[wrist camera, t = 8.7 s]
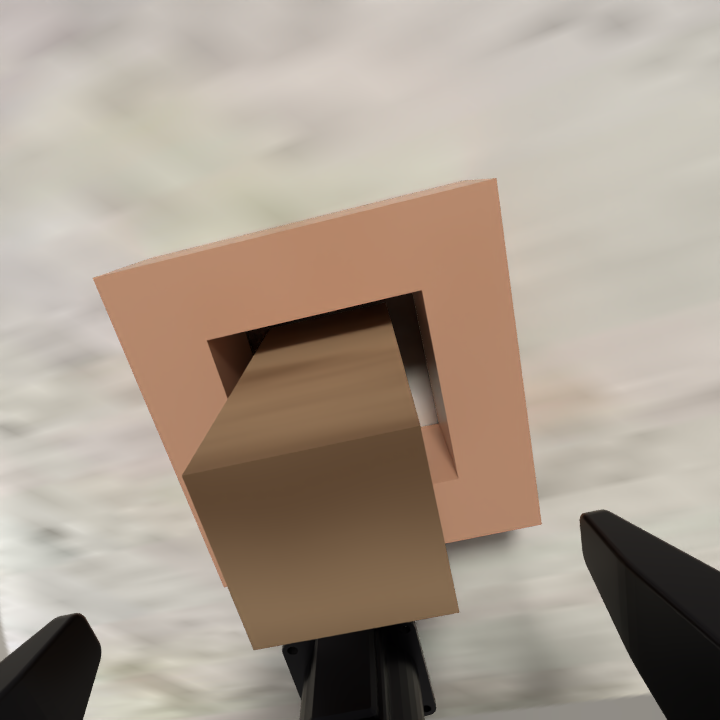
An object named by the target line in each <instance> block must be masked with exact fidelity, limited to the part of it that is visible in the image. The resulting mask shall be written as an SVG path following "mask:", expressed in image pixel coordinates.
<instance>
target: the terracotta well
mask: <svg viewBox="0 0 720 720" xmlns="http://www.w3.org/2000/svg"><path fill="white" fill-rule="evenodd" d="M93 280H94V282H95V284H96V287H97V289H98V291H99V294H100V296H101V298H102V301H103V303H104V306H105V308H106V310H107V313H108V315H109V317H110V320H111V322H112V324H113V327H114V329H115V331H116V334H117V336H118V339H119V341H120V343H121V346H122V348H123V350H124V353H125V355H126V357H127V360H128V362H129V364H130V367H131V369H132V372H133V374H134V376H135V379H136V381H137V383H138V386H139V388H140V390H141V393H142V395H143V397H144V400H145V402H146V405H147V407H148V409H149V412H150V414H151V416H152V419H153V421H154V423H155V426H156V428H157V430H158V433H159V435H160V437H161V440H162V442H163V445H164V447H165V449H166V452H167V454H168V456H169V459H170V461H171V463H172V466H173V468H174V470H175V473H176V475H177V478H178V480H179V482H180V485H181V487H182V489H183V492H184V494H185V496H186V499H187V501H188V503H189V506H190V508H191V511H192V513H193V515H194V518H195V520H196V522H197V525H198V527H199V529H200V532H201V534H202V536H203V539H204V541H205V543H206V546H207V548H208V551H209V553H210V555H211V558H212V560H213V562H214V565H215V567H216V569H217V572H218V574H219V576H220V579H221V581H222V584H223V586H224V587H227V584H226V582H225V579H224V577H223V575H222V572H221V570H220V567H219V565H218V562H217V560H216V558H215V555H214V553H213V550H212V548H211V545H210V543H209V541H208V538H207V536H206V533H205V531H204V529H203V526H202V524H201V521H200V519H199V516H198V514H197V512H196V509H195V507H194V504H193V502H192V500H191V497H190V495H189V492H188V490H187V487H186V485H185V483H184V480H183V478H182V474H183V473H184V471H185V469H186V468H187V466H188V464H189V463H190V461H191V459H192V458H193V456H194V454H195V453H196V451H197V449H198V448H199V446H200V444H201V443H202V441H203V439H204V438H205V436H206V434H207V433H208V431H209V429H210V428H211V426H212V424H213V423H214V421H215V419H216V418H217V416H218V414H219V413H220V411H221V409H222V408H223V406H224V404H225V403H226V401H227V399H228V398H229V396H230V394H231V393H232V391H233V389H234V388H235V386H236V384H237V383H238V381H239V379H240V378H241V376H242V374H243V373H244V371H245V369H246V368H247V366H248V364H249V363H250V361H251V359H252V358H253V354H252V351H251V348H250V345H249V342H248V339H247V336H246V333H245V331H249V330H253V329H258V328H262V327H266V326H270V325H275V324H279V323H283V322H287V321H292V320H296V319H300V318H305V317H309V316H313V315H317V314H322V313H326V312H330V311H334V310H339V309H343V308H347V307H352V306H356V305H360V304H364V303H369V302H373V301H377V300H381V299H386V298H390V297H394V296H399V295H403V294H407V293H411V292H412V294H413V299H414V304H415V309H416V314H417V319H418V324H419V329H420V334H421V339H422V344H423V348H424V353H425V358H426V363H427V368H428V373H429V378H430V383H431V388H432V393H433V398H434V403H435V408H436V413H437V418H438V424H433V425H429V426H424V427H421V431H422V436H423V441H424V445H425V450H426V455H427V460H428V465H429V469H430V474H431V479H432V484H433V488H434V493H435V498H436V503H437V508H438V512H439V517H440V522H441V527H442V531H443V536H444V541H445V543H450V542H455V541H460V540H465V539H470V538H475V537H480V536H486V535H491V534H496V533H501V532H506V531H511V530H516V529H521V528H526V527H531V526H536V525H541V524H542V523H541V515H540V508H539V500H538V492H537V485H536V477H535V470H534V462H533V454H532V447H531V439H530V431H529V424H528V416H527V408H526V401H525V393H524V386H523V378H522V370H521V363H520V355H519V347H518V340H517V332H516V325H515V317H514V309H513V302H512V294H511V286H510V279H509V271H508V263H507V256H506V248H505V241H504V233H503V225H502V218H501V210H500V202H499V195H498V187H497V179H496V178H492V179H479V180H465V181H460V182H456V183H452V184H448V185H444V186H440V187H436V188H432V189H428V190H424V191H420V192H416V193H412V194H408V195H404V196H400V197H396V198H392V199H388V200H384V201H380V202H376V203H372V204H368V205H363V206H359V207H355V208H351V209H347V210H343V211H339V212H335V213H331V214H327V215H323V216H319V217H315V218H311V219H307V220H303V221H299V222H295V223H291V224H287V225H283V226H279V227H275V228H271V229H267V230H263V231H259V232H255V233H251V234H247V235H243V236H238V237H234V238H230V239H226V240H222V241H218V242H214V243H210V244H206V245H202V246H198V247H194V248H190V249H186V250H182V251H178V252H174V253H170V254H166V255H162V256H158V257H154V258H150V259H147V260H144V261H141V262H138V263H135V264H132V265H129V266H126V267H123V268H120V269H118V270H115V271H112V272H109V273H106V274H103V275H100V276H97V277H94V278H93Z"/></svg>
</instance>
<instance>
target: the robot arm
mask: <svg viewBox="0 0 720 720" xmlns="http://www.w3.org/2000/svg"><path fill="white" fill-rule="evenodd" d="M580 530H581V541H582V551H583V556H584V560H585V563H586V565H587V568H588V570H589V572H590V574H591V576H592V578H593V580H594V582H595V584H596V587H597V589H598V591H599V593H600V595H601V597H602V599H603V601H604V604H605V606H606V608H607V610H608V612H609V614H610V616H611V618H612V620H613V623H614V625H615V627H616V629H617V631H618V633H619V635H620V637H621V640H622V642H623V644H624V646H625V648H626V650H627V652H628V654H629V656H630V658H631V659H632V661H633V663H634V665H635V667H636V668H637V670H638V672H639V674H640V675H641V677H642V679H643V680H644V682H645V684H646V685H647V687H648V689H649V690H650V692H651V694H652V695H653V697H654V698H655V700H656V702H657V703H658V705H659V707H660V708H661V710H662V712H663V713H664V715H665V717H666V718H667V720H720V571H718V570H716V569H715V568H713V567H711V566H709V565H707V564H705V563H703V562H702V561H700V560H698V559H696V558H694V557H692V556H691V555H689V554H687V553H685V552H683V551H681V550H680V549H678V548H676V547H674V546H672V545H670V544H668V543H667V542H665V541H663V540H661V539H659V538H657V537H656V536H654V535H652V534H650V533H648V532H646V531H645V530H643V529H641V528H639V527H637V526H635V525H633V524H632V523H630V522H628V521H626V520H624V519H622V518H621V517H619V516H617V515H615V514H613V513H611V512H610V511H607V510H597V511H592V512H587V513H583V514H582V515H581V516H580ZM402 626H405V627H402ZM282 652H283V655H284V658H285V660H286V663H287V665H288V668H289V670H290V673H291V675H292V678H293V680H294V683H295V685H296V688H297V690H298V693H299V696H300V698H301V710H300V720H425V718H424V716H427V715H431V714H433V713H434V712H435V711H436V703H435V698H434V694H433V690H432V686H431V683H430V679H429V675H428V671H427V667H426V663H425V660H424V656H423V652H422V648H421V644H420V640H419V637H418V633H417V629H416V625H415V621H410V622H405V623H399V624H394V625H389V626H383V627H378V628H372V629H367V630H361V631H356V632H350V633H345V634H339V635H334V636H329V637H323V638H318V639H312V640H307V641H301V642H296V643H290V644H285V645H283V648H282ZM100 659H101V645H100V643H99V641H98V639H97V637H96V635H95V634H94V632H93V630H92V628H91V627H90V625H89V623H88V621H87V620H86V618H85V617H84V616H83V615H82V614H80V613H74V614H69V615H64V616H59V617H57V618H55V619H53V620H52V621H51V622H49V623H48V624H47V625H46V626H45V627H43V628H42V629H41V630H40V631H38V632H37V633H36V634H35V635H33V636H32V637H31V638H30V639H28V640H27V641H26V642H25V643H24V644H22V645H21V646H20V647H19V648H17V649H16V650H15V651H14V652H12V653H11V654H10V655H9V656H8V657H6V658H5V659H4V660H3V661H1V662H0V720H83V717H84V714H85V711H86V707H87V704H88V700H89V697H90V694H91V690H92V687H93V683H94V680H95V677H96V673H97V670H98V666H99V663H100Z"/></svg>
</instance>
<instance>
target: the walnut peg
mask: <svg viewBox="0 0 720 720" xmlns="http://www.w3.org/2000/svg"><path fill="white" fill-rule="evenodd" d="M182 478H183V480H184V483H185V485H186V487H187V490H188V492H189V495H190V497H191V500H192V502H193V504H194V507H195V509H196V512H197V514H198V516H199V519H200V521H201V524H202V526H203V529H204V531H205V533H206V536H207V538H208V541H209V543H210V545H211V548H212V550H213V553H214V555H215V558H216V560H217V562H218V565H219V567H220V570H221V572H222V575H223V577H224V579H225V582H226V584H227V587H228V589H229V591H230V594H231V596H232V599H233V601H234V604H235V606H236V608H237V611H238V613H239V616H240V618H241V620H242V623H243V625H244V628H245V630H246V633H247V635H248V637H249V640H250V642H251V645H252V647H253V650H258V649H263V648H269V647H274V646H279V645H285V644H290V643H296V642H301V641H307V640H312V639H318V638H323V637H329V636H334V635H339V634H345V633H350V632H356V631H361V630H367V629H372V628H378V627H383V626H389V625H394V624H399V623H405V622H410V621H416V620H421V619H427V618H432V617H438V616H443V615H449V614H454V613H459V608H458V603H457V598H456V594H455V589H454V584H453V579H452V574H451V570H450V565H449V560H448V555H447V551H446V546H445V541H444V536H443V531H442V527H441V522H440V517H439V512H438V508H437V503H436V498H435V493H434V488H433V484H432V479H431V474H430V469H429V465H428V460H427V455H426V450H425V445H424V441H423V436H422V431H421V426H420V423H419V419H418V415H417V412H416V408H415V405H414V401H413V398H412V394H411V390H410V387H409V383H408V380H407V376H406V373H405V369H404V366H403V362H402V358H401V355H400V351H399V348H398V344H397V341H396V337H395V333H394V330H393V326H392V323H391V319H390V316H389V312H388V308H387V305H386V302H383V303H379V304H374V305H370V306H365V307H361V308H357V309H352V310H348V311H343V312H339V313H335V314H330V315H326V316H322V317H317V318H313V319H308V320H304V321H300V322H295V323H291V324H286V325H282V326H278V327H273V328H270V329H269V331H268V333H267V334H266V336H265V338H264V339H263V341H262V343H261V344H260V346H259V348H258V349H257V351H256V353H255V354H254V356H253V358H252V359H251V361H250V363H249V364H248V366H247V368H246V369H245V371H244V373H243V374H242V376H241V378H240V379H239V381H238V383H237V384H236V386H235V388H234V389H233V391H232V393H231V394H230V396H229V398H228V399H227V401H226V403H225V404H224V406H223V408H222V409H221V411H220V413H219V414H218V416H217V418H216V419H215V421H214V423H213V424H212V426H211V428H210V429H209V431H208V433H207V434H206V436H205V438H204V439H203V441H202V443H201V444H200V446H199V448H198V449H197V451H196V453H195V454H194V456H193V458H192V459H191V461H190V463H189V464H188V466H187V468H186V469H185V471H184V473H183V474H182Z"/></svg>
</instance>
